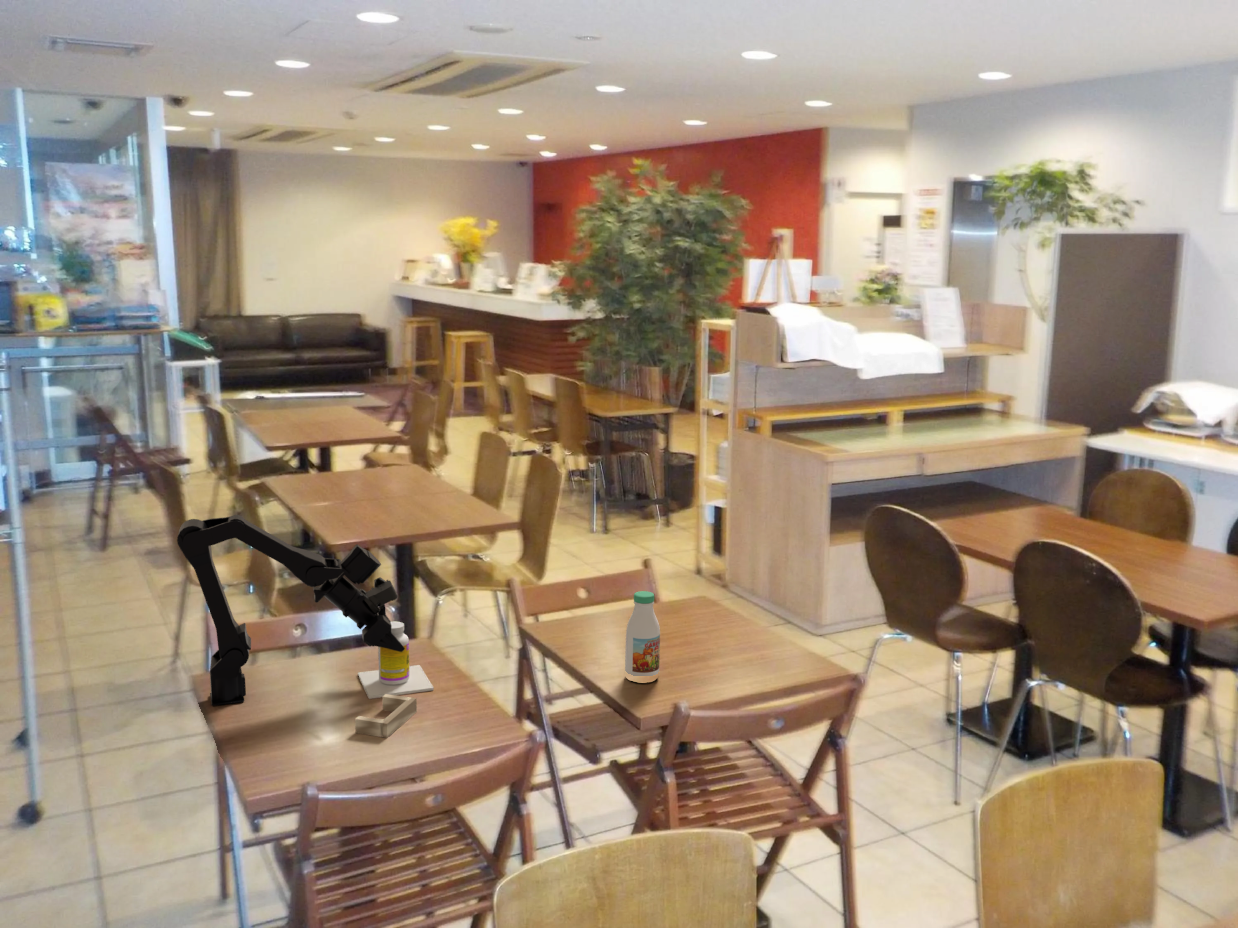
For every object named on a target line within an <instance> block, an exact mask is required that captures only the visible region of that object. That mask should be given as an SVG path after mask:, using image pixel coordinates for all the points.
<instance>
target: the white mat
mask: <svg viewBox="0 0 1238 928" xmlns="http://www.w3.org/2000/svg"><path fill="white" fill-rule="evenodd" d="M357 676H359V677H358V679H359V681H360V683H361V685H362V688H363V690H364V692H365V693H366V696H367V698H368V699H369V700H371V699H379V698H382V697H383V696H384V695H385V694H390V695H397V696H402V695H409V694H415V693H423V692H430V691H432V692H433V691H434V690H435V688H434V685H433V684H432V682H431V681H430V679H429V678H428V676H427V674H426V672H425V671H424V669H423V668H422V666H421V665H420V664H417V665H416V664H414V665H409V679H408V681H406V682H405V683H402V684H397V685H387V684H384V683H382V682H380V680H379V669H376V670H367V671H361V672H360V671H359V672H357Z"/></svg>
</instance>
